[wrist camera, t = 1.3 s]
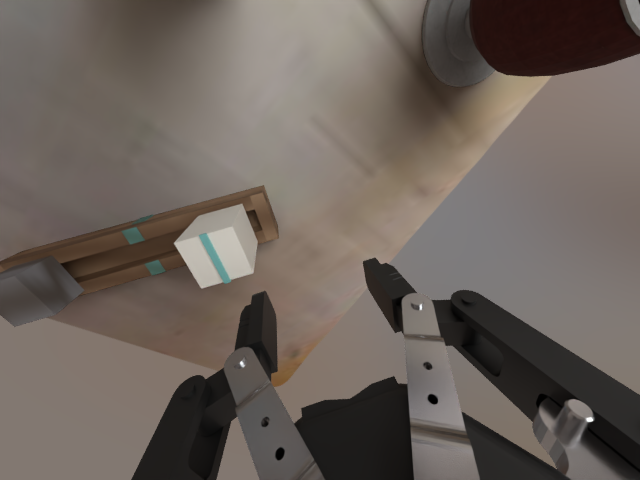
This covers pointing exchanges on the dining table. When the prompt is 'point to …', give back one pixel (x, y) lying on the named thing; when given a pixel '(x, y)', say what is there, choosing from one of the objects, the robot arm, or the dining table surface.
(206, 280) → the block
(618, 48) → the mate gourd
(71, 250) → the beam
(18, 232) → the dining table surface
